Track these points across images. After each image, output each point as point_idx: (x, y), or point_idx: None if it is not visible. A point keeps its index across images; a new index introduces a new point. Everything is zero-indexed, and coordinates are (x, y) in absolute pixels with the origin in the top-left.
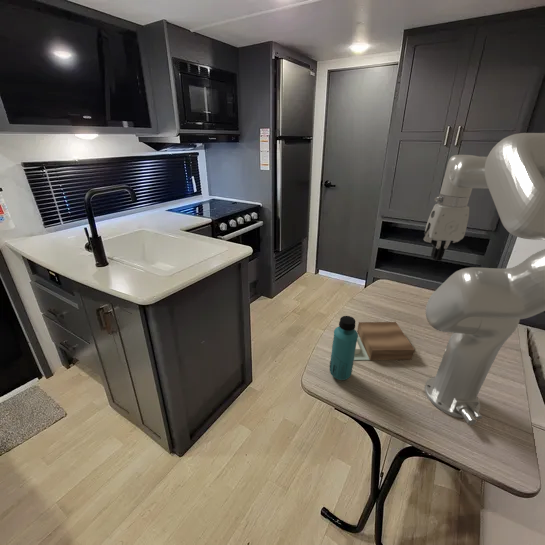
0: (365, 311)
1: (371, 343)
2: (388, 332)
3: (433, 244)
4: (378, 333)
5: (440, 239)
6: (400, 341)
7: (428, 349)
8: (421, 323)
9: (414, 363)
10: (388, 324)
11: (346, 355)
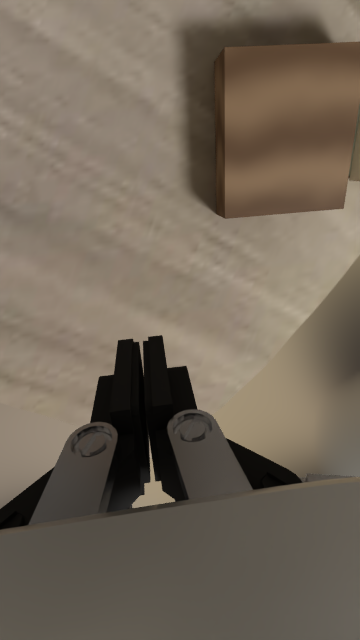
0: (262, 306)
1: (355, 83)
2: (272, 154)
3: (260, 455)
4: (307, 146)
5: (296, 497)
6: (254, 100)
7: (140, 122)
8: (115, 261)
9: (212, 42)
10: (254, 202)
11: None
